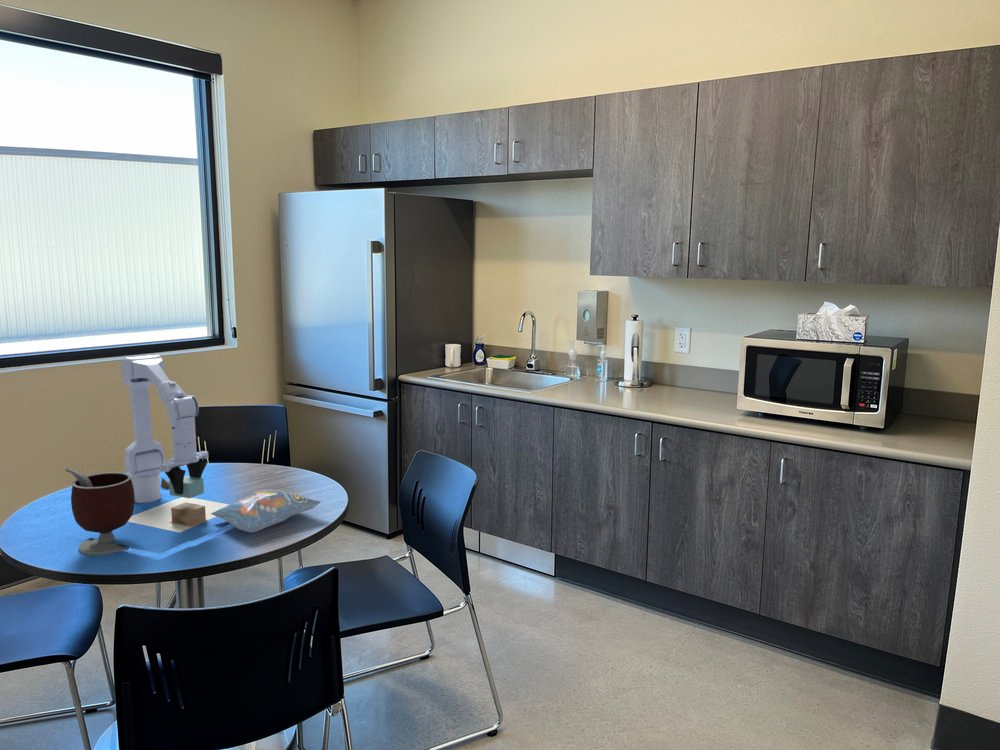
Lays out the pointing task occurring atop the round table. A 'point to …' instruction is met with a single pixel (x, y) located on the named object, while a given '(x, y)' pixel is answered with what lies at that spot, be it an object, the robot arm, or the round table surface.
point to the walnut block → (188, 514)
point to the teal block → (189, 487)
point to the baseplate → (163, 517)
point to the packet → (264, 509)
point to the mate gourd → (102, 508)
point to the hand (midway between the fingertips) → (187, 490)
